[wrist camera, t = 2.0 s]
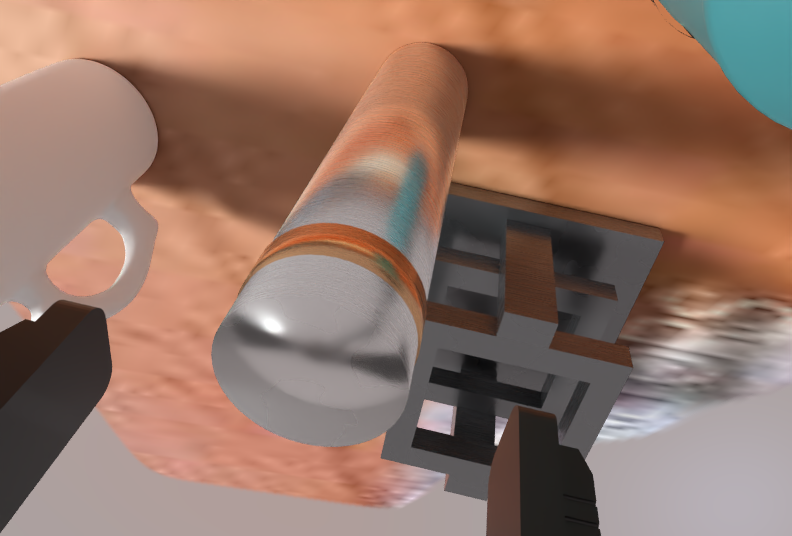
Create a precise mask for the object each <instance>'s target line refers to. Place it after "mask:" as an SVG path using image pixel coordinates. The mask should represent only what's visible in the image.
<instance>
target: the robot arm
mask: <svg viewBox="0 0 792 536" xmlns="http://www.w3.org/2000/svg"><path fill="white" fill-rule="evenodd" d="M111 373H112V360H111V353H110V345H109V338H108V330H107V323H106V316H105V313H104V311H103V310H102V309H101V308H98V307H93V306H89V305H85V304H80V303H76V302H72V301H67V300H58V301H56V302H55V303H54V304H52V305H51V306H50V307H49V308H48V309H47V310H46V311H45V312H44V313H43V314H42V315H41V316H40V317H39V318H38V319H37V320H36V321H31V320H26V319H25V320H23V321H21V322H19V323H18V324H15V325H14V326H12V327H10V328H8V329H6V330H4V331H2V332H0V533H1V531H2V530H3V529H4V527H5V526H6V525H7V523H8V522H9V521H10V519H11V518H12V517H13V515H14V514H15V513H16V511H17V510H18V509H19V507H20V506H21V505H22V503H23V502H24V501H25V499H26V498H27V497H28V495H29V494H30V492H31V491H32V490H33V489H34V487H35V486H36V485H37V483H38V482H39V481H40V479H41V478H42V477H43V475H44V474H45V472H46V471H47V470H48V469H49V467H50V466H51V464H52V463H53V462H54V461H55V459H56V458H57V457H58V455H59V454H60V452H61V451H62V450H63V448H64V447H65V446H66V445H67V443H68V441H69V440H70V439H71V438H72V436H73V435H74V434H75V432H76V431H77V430H78V428H79V427H80V426H81V424H82V423H83V422H84V420H85V419H86V417H87V416H88V415H89V414H90V412H91V411H92V410H93V408H94V407H95V406H96V404H97V403H98V402H99V400H100V399H101V398H102V396H103V395H104V393H105V391H106V389H107V387H108V384H109V381H110V378H111ZM595 504H596V495H595V488H594V480H593V474H592V472H591V471H590V469H589V467H588V465H587V463H586V462H585V460H584V458H583V456H582V454H581V453H580V451H579V449H577V448H572V447H568V446H564V445H559V439H558V426H557V418H556V416H555V414H552V413H548V412H544V411H539V410H535V409H530V408H526V407H522V406H517V405H515V406H514V408H513V410H512V412H511V414H510V417H509V419H508V422H507V424H506V427H505V429H504V432H503V435H502V437H501V440H500V442H499V445H498V447H497V450H496V452H495V455H494V458H493V461H492V465H491V470H490V476H489V483H488V503H487V531H486V532H487V533H486V536H601V533H600V529H598V527H599V518H598V511H597V507H596V505H595Z"/></svg>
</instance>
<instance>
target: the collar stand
mask: <svg viewBox="0 0 792 536" xmlns="http://www.w3.org/2000/svg"><path fill="white" fill-rule="evenodd" d="M663 243H664V240H663V237H662V234H661V232H660V229H659V228H655V227H651V226H646V225H642V224H637V223H633V222H628V221H624V220H619V219H615V218H610V217H605V216H601V215H596V214H592V213H587V212H583V211H578V210H574V209H569V208H565V207H560V206H556V205H551V204H547V203H542V202H538V201H533V200H529V199H524V198H520V197H515V196H510V195H506V194H501V193H497V192H492V191H488V190H483V189H479V188H474V187H470V186H465V185H461V184H456V183H452V182H451V183H450V188H449V193H448V198H447V203H446V208H445V213H444V218H443V223H442V228H441V233H440V238H439V243H438V248H437V253H436V258H435V263H434V269H433V274H432V279H431V284H430V289H429V294H428V299H427V314H426V320H425V325H424V330H423V336H422V341H421V346H420V351H419V355H418V358H417V361H416V364H415V366H414V369H413V374H412V380H411V385H410V390H409V395H408V400H407V403H406V406H405V409H404V411H403V413H402V414H401V416H400V418H399V419H398V420H397V421H396V423H395V424H394V425H393V426H392V427H391V428H389V429H388V430H387V432H386V436H385V441H384V445H383V450H382V454H381V458H382V459H386V460H391V461H395V462H399V463H403V464H407V465H411V466H416V467H420V468H424V469H428V470H432V471H436V472H441V473H445V474H446V478H445V488H444V491H448V492H452V493H456V494H460V495H464V496H468V497H473V498H477V499H481V500H485V501H486V500H487V498H488V483H489V476H490V470H491V465H492V461H493V458H494V455H495V452H496V450H497V447H498V446H494V442H495V416H498V417H502V418H507V419H509V417H510V414H511V412H512V410H513V408H514V406H515V405H517V406H522V407H526V408H530V409H535V410H539V411H544V412H548V413H552V414H555V416H556V418H557V426H558V439H559V445H564V446H568V447H572V448H577V449H579V451H580V453H581V454H582V456H583V458H584V460H585V458H586V457H587V455H588V452H589V451H590V449H591V447H592V445H593V443H594V442H595V440H596V438H597V436H598V434H599V432H600V430H601V428H602V426H603V424H604V423H605V421H606V419H607V417H608V415H609V413H610V411H611V409H612V407H613V405H614V403H615V402H616V400H617V398H618V396H619V394H620V392H621V390H622V388H623V386H624V384H625V383H626V381H627V379H628V377H629V375H630V373H631V371H632V369H633V365H632V360H631V356H630V351H629V347H627V346H622V345H618V344H615V342H616V340H617V338H618V336H619V334H620V332H621V329H622V327H623V325H624V323H625V321H626V319H627V317H628V315H629V313H630V311H631V309H632V307H633V305H634V303H635V301H636V299H637V297H638V295H639V293H640V290H641V288H642V286H643V284H644V282H645V280H646V278H647V276H648V274H649V272H650V270H651V268H652V266H653V264H654V262H655V260H656V258H657V256H658V254H659V251H660V249H661V247H662V245H663ZM424 399H426V400H430V401H434V402H439V403H443V404H447V405H451V406H454V407H453V416H452V425H451V434H450V435H447V434H443V433H439V432H435V431H430V430H426V429H422V428H418V427H417V423H418V419H419V416H420V412H421V408H422V405H423V401H424Z"/></svg>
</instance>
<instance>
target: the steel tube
mask: <svg viewBox="0 0 792 536" xmlns="http://www.w3.org/2000/svg"><path fill="white" fill-rule="evenodd" d="M467 96H468V82H467V77H466V74H465V72H464V69H463V67H462V66H461V64H460V63H459V61H458V60H457V59H456V58H455V57H454V56H453V55H452V54H451V53H450V52H449V51H447V50H446V49H444V48H442V47H440V46H438V45H435V44H431V43H425V42H418V43H411V44H407V45H405V46H402V47H400V48H398V49H397V50H395V51H394V52H393V53H391V54H390V55H389V56H388V57H387V59H386V60H385V61H384V63H383V64H382V66H381V67H380V69H379V71H378V72H377V74H376V76H375V77H374V79H373V80H372V82H371V84H370V85H369V87H368V88H367V90H366V92H365V93H364V95H363V96H362V98H361V100H360V101H359V103H358V104H357V106H356V108H355V109H354V111H353V113H352V114H351V116H350V117H349V119H348V121H347V122H346V124H345V125H344V127H343V129H342V130H341V132H340V133H339V135H338V137H337V138H336V140H335V141H334V143H333V145H332V146H331V148H330V150H329V151H328V153H327V154H326V156H325V158H324V159H323V161H322V162H321V164H320V166H319V167H318V169H317V170H316V172H315V174H314V175H313V177H312V178H311V180H310V182H309V183H308V185H307V187H306V188H305V190H304V191H303V193H302V195H301V196H300V198H299V199H298V201H297V203H296V204H295V206H294V207H293V209H292V211H291V212H290V214H289V215H288V217H287V219H286V220H285V222H284V224H283V225H282V227H281V228H280V230H279V232H278V233H277V235H276V236H275V238H274V240H273V241H272V243H271V244H270V245H268V246H267V248H266V249H265V250H264V252H263V253H262V255H261V256H260V258H259V259H258V261H257V263H256V264H255V266H254V267H253V269H252V271H251V272H250V274H249V275H248V277H247V279H246V280H245V282H244V283H243V285H242V287H241V289H240V291H239V293H238V297H237V299H236V301H235V302H234V304H233V306H232V307H231V309H230V310H229V312H228V314H227V315H226V317H225V318H224V320H223V322H222V323H221V325H220V327H219V328H218V330H217V332H216V334H215V337H214V340H213V344H212V354H211V355H212V365H213V369H214V373H215V376H216V378H217V380H218V383H219V385H220V386H221V388H222V390H223V391H224V393H225V394H226V396H227V397H228V398H229V400H230V401H231V402H232V403H233V404H234V405H235V406H236V407H237V408H238V409H239V410H240V411H241V412H242V413H243V414H244V415H245V416H247V417H248V418H249V419H251V420H252V421H253V422H255V423H256V424H258V425H259V426H261V427H263V428H264V429H266V430H268V431H270V432H272V433H274V434H276V435H278V436H281V437H284V438H286V439H289V440H292V441H296V442H299V443H304V444H309V445H315V446H324V447H339V446H349V445H355V444H359V443H363V442H366V441H369V440H371V439H373V438H376V437H378V436H379V435H381V434H383V433H384V432H386V431H387V430H388V429H389V428H391V427H392V426H393V425H394V424H395V423H396V421H397V420H398V419H399V418H400V416H401V414H402V413H403V411H404V409H405V406H406V403H407V400H408V395H409V390H410V385H411V380H412V374H413V369H414V366H415V364H416V361H417V358H418V355H419V351H420V346H421V341H422V336H423V330H424V325H425V320H426V314H427V299H428V294H429V289H430V284H431V279H432V274H433V269H434V263H435V258H436V253H437V248H438V243H439V238H440V233H441V228H442V223H443V218H444V213H445V208H446V203H447V198H448V193H449V188H450V183H451V178H452V173H453V168H454V163H455V157H456V152H457V147H458V142H459V137H460V132H461V127H462V122H463V117H464V112H465V107H466V102H467Z"/></svg>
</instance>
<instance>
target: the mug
mask: <svg viewBox="0 0 792 536" xmlns="http://www.w3.org/2000/svg"><path fill="white" fill-rule="evenodd" d="M157 147H158V132H157V127H156V123H155V120H154V117H153V114H152V112H151V110H150V108H149V106H148V104H147V103H146V101H145V99H144V98H143V97H142V95H141V94H140V93H139V91H138V90H137V89H136V88H135V87H134V86H133V85H132V84H131V83H130V82H129V81H128V80H127V79H126V78H124V77H123V76H122V75H120V74H119V73H118V72H116V71H115V70H113V69H111V68H109V67H107V66H105V65H103V64H100V63H98V62H94V61H91V60H85V59H67V60H63V61H59V62H57V63H54V64H51V65H49V66H46V67H43V68H41V69H38V70H36V71H33V72H31V73H28V74H26V75H23V76H21V77H18V78H16V79H14V80H11V81H9V82H7V83H4V84H2V85H0V307H1V306H2V305H3V304H4V303H6V302H10V301H13V302H18V303H20V304H22V305H24V306H25V307H27V308H28V309H29V311H30V312H31V320H32V321H36V320H37V319H38V318H39V317H40V316H41V315H42V314H43V313H44V312H45V311H46V310H47V309H48V308H49V307H50V306H51V305H52V304H54V303H55V302H56V301H58V300H67V301H72V302H76V303H80V304H85V305H89V306H93V307H98V308H101V309H102V310H103V311H104V313H105V316H106V319H107V318H109V317H111V316H113V315H115V314H117V313H118V312H120V311H121V310H122V309H124V308H125V307H126V306H127V305H128V304H129V303H130V302H131V301H132V300H133V299H134V298H135V296H136V295H137V294H138V292H139V290H140V289H141V287H142V285H143V283H144V281H145V279H146V277H147V274H148V271H149V267H150V262H151V258H152V253H153V249H154V244H155V239H156V235H157V231H158V222H157V220H156V219H155V218H154V217H153V216H152V215H151V214H150V213H148V212H147V211H146V210H145V209H144V208H143V207H142V206H141V205H140V204H139V203H138V202H137V200H136V199H135V197H134V196H133V194H132V191H131V185H132V184H133V183H134V182H135V181H136V180H137V179H138V178H139V177H140V176H141V175H142V174H144V173H145V172H146V171H147V169H148V168H149V167H150V166H151V164H152V162H153V160H154V158H155V156H156V152H157ZM96 219H103V220H105V221H107V222H108V223H110V224H111V225H112V226H113V227H114V228H115V229H116V230H117V231H118V232H119V233H120V234H121V236H122V238H123V240H124V244H125V253H126V255H125V263H124V266H123V268H122V270H121V273H120V275H119V276H118V278H117V280H116V281H115V283H114V284H113V285H112V286H111V287H110V288H109V289H107V290H105V291H104V292H101V293H99V294H96V295H92V296H74V295H70V294H67V293H65V292H64V291H62V290H60V289H59V288H58V287H56V286H55V285H54V284H53V283H52V281H51V280H50V279H49V278H48V275H47V273H46V266H47V264H48V262H49V261H50V260H51V259H52V258H53V257H55V256H56V255H57V254H58V253H59V252H60V251H61V250H62V249H63V248H64V247H65V246H66V245H67V244H68V243H69V242H70V241H72V240H73V239H74V238H75V237H76V236H77V235H78V234H79V233H80V232H81V231H82V230H83V229H84V228H85V227H86V226H88V225H89V224H90V223H91V222H92V221H94V220H96Z"/></svg>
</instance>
